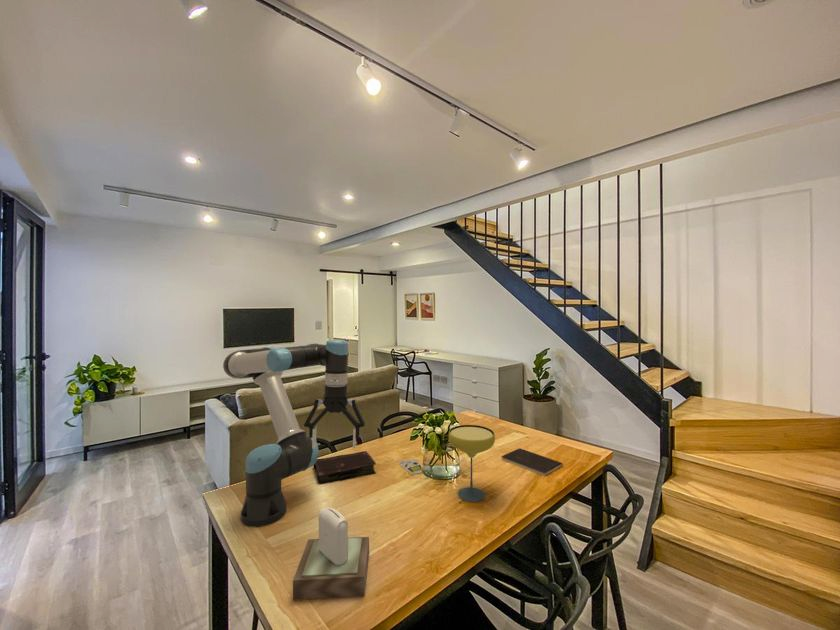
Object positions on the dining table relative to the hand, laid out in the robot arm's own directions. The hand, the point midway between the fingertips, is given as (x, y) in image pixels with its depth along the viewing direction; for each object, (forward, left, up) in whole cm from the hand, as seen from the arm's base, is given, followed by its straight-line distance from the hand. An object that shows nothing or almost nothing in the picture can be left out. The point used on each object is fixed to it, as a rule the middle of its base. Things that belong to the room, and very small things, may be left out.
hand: (334, 447), depth 122 cm
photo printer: (+4, -24, -21) cm, 32 cm away
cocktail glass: (+51, +15, -27) cm, 59 cm away
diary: (-2, +39, -27) cm, 48 cm away
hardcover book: (+86, +42, -27) cm, 99 cm away
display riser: (+4, -24, -26) cm, 36 cm away
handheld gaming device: (+29, +42, -27) cm, 58 cm away
